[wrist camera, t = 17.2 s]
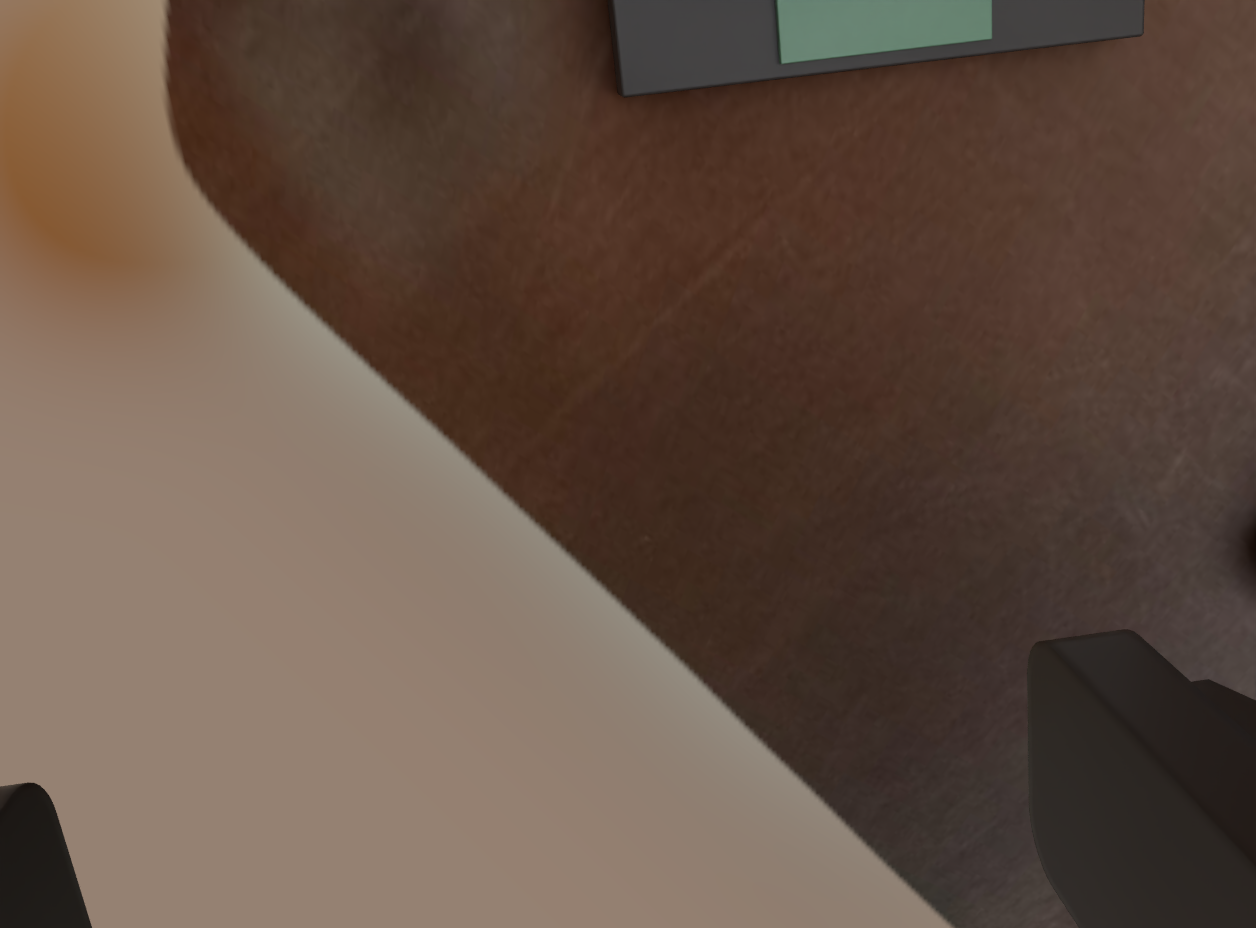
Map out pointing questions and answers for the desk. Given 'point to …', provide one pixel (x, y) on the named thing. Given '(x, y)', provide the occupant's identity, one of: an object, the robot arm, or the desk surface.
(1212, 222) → the desk surface
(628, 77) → the scale
